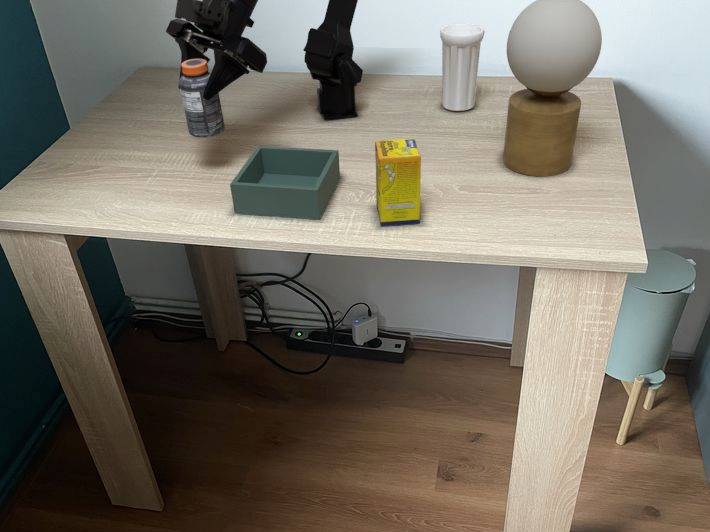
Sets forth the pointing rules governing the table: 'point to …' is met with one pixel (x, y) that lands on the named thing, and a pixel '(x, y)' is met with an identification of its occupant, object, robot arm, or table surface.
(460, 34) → the cup
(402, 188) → the supplement box
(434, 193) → the table surface
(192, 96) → the pill bottle
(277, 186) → the green square tray
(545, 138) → the lamp
